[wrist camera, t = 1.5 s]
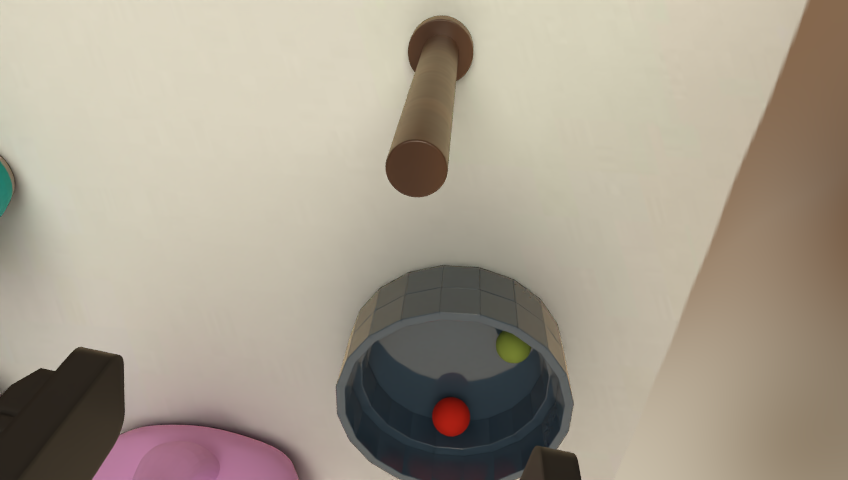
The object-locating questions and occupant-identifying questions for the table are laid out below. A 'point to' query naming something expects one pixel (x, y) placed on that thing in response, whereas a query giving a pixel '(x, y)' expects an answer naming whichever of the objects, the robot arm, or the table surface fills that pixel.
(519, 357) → the grape
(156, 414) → the table surface
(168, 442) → the teapot
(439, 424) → the cherry tomato
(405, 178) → the brown wooden pestle
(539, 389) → the bowl
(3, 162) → the beverage can
